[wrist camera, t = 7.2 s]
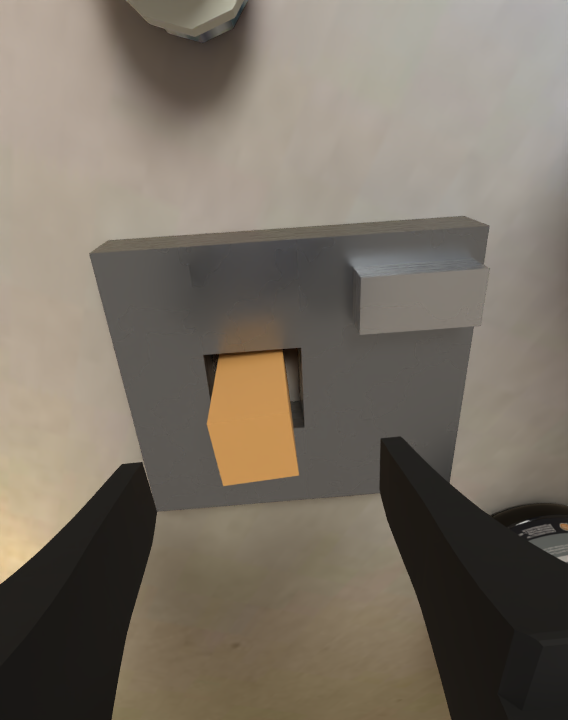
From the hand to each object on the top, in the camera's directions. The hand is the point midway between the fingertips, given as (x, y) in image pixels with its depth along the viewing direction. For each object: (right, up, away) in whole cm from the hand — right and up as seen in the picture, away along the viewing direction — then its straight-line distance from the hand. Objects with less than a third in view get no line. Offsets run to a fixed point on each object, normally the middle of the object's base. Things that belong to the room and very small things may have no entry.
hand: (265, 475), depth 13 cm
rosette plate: (+1, +3, +9) cm, 10 cm away
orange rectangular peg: (-1, +3, +9) cm, 10 cm away
